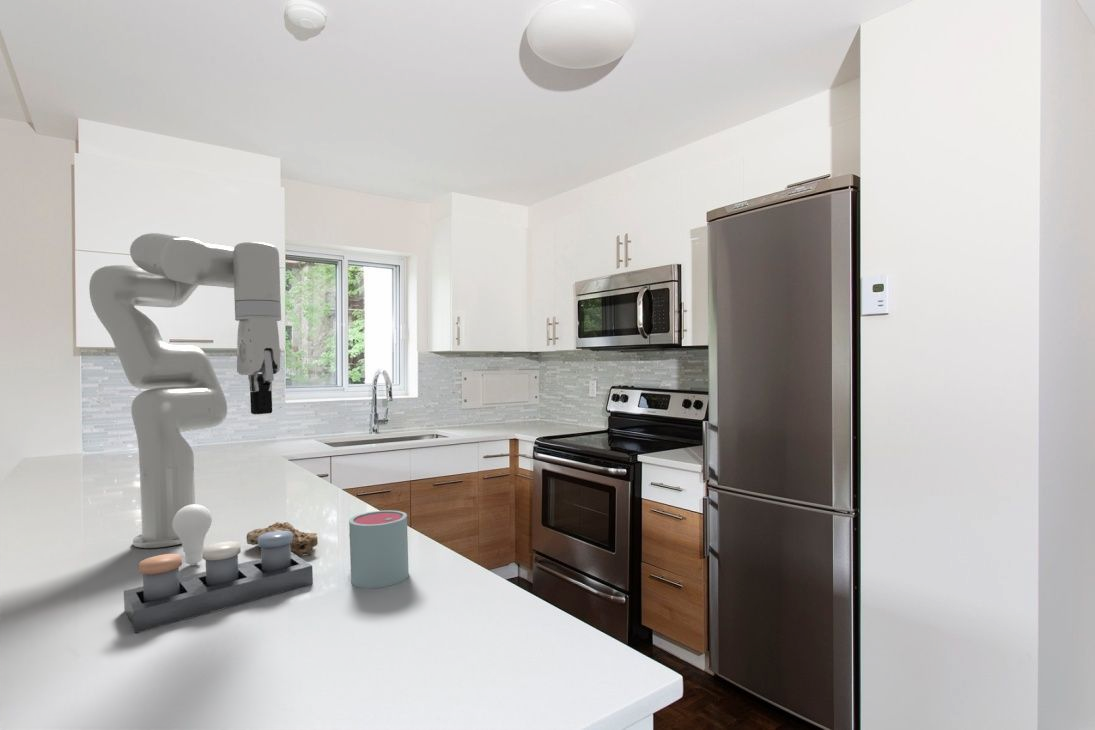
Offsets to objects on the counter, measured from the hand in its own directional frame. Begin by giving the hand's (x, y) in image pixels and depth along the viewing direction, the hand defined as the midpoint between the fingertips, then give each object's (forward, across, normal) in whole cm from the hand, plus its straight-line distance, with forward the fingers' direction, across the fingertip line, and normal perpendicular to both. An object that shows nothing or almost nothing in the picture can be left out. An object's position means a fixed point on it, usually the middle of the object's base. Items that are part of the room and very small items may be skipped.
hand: (261, 413), depth 107 cm
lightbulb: (+27, -8, -10) cm, 30 cm away
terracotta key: (+26, +12, -18) cm, 33 cm away
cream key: (+25, +12, -10) cm, 30 cm away
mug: (+27, +20, +11) cm, 36 cm away
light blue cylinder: (+25, +12, -2) cm, 28 cm away
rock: (+28, -6, +6) cm, 29 cm away
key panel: (+27, +12, -10) cm, 31 cm away
